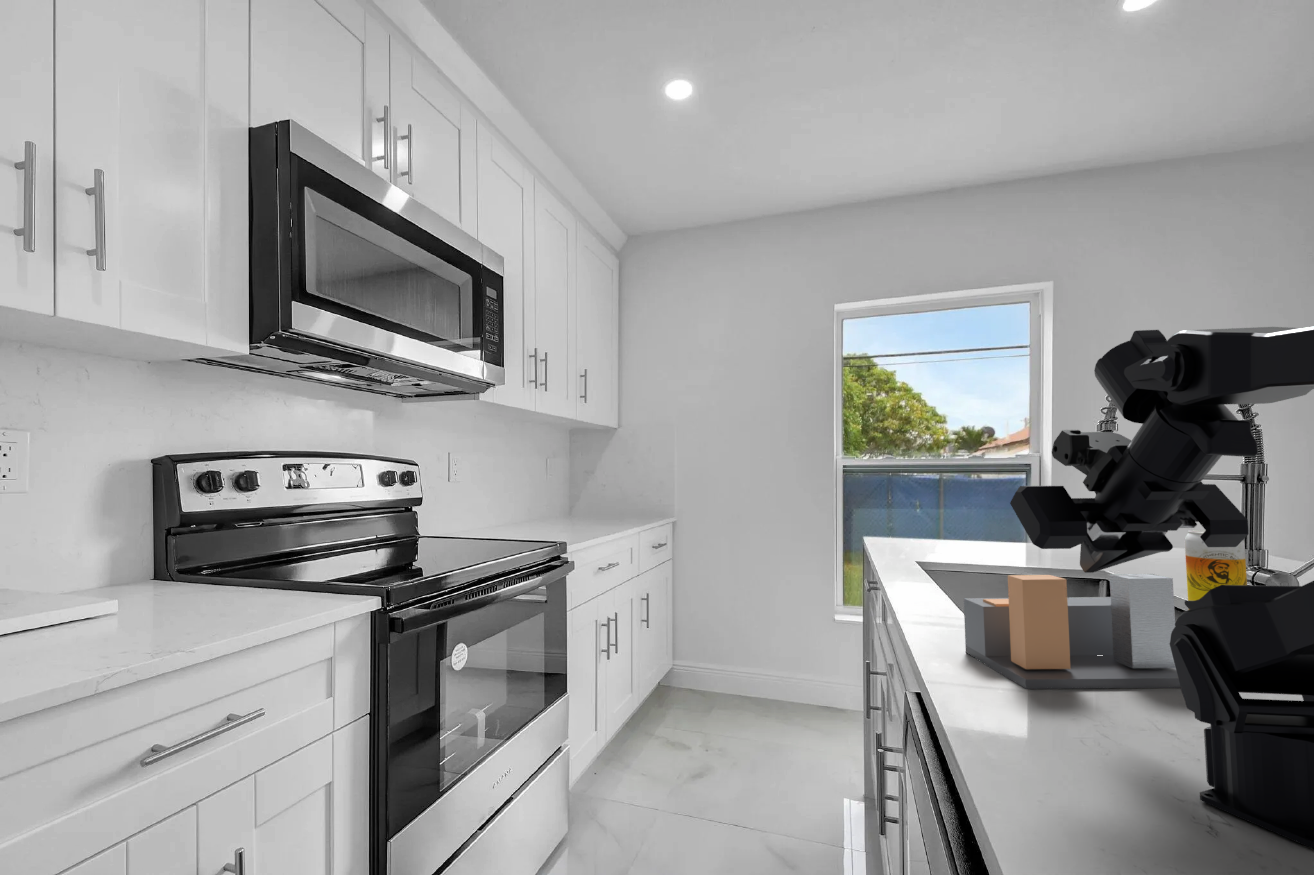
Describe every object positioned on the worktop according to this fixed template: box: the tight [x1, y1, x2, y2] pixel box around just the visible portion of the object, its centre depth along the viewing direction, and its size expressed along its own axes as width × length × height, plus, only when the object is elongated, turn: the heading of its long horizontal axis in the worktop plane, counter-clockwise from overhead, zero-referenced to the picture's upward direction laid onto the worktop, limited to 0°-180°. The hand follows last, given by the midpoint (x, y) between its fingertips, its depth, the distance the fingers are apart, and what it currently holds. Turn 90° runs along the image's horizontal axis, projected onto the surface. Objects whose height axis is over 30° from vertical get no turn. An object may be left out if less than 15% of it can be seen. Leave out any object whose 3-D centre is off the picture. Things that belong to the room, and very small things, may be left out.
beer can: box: [1184, 529, 1248, 601], centre depth 85 cm, size 6×6×15 cm
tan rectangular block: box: [1007, 574, 1071, 669], centre depth 72 cm, size 3×5×10 cm, turn 89°
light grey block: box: [1109, 573, 1176, 668], centre depth 72 cm, size 3×5×10 cm, turn 89°
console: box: [963, 596, 1181, 690], centre depth 75 cm, size 14×20×7 cm
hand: (1085, 568), depth 64 cm, fingers closed
